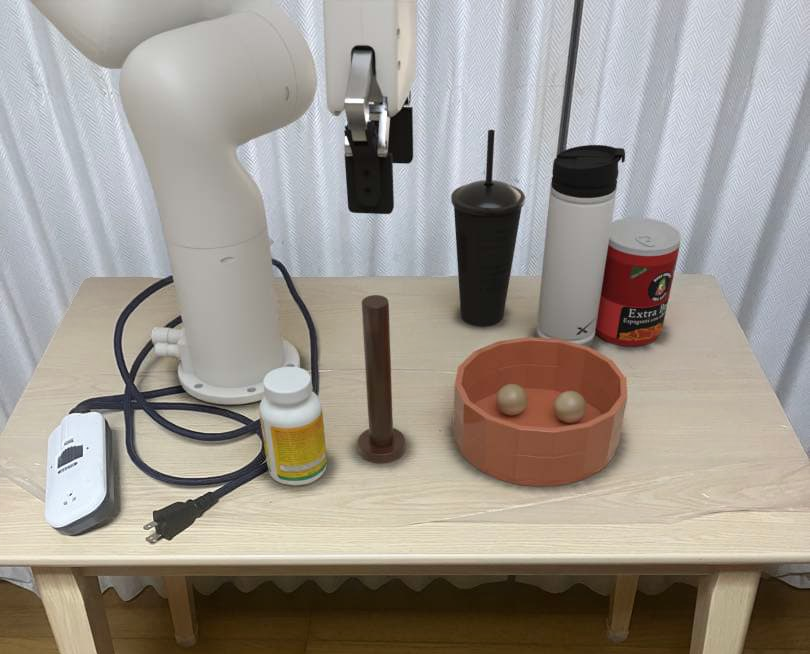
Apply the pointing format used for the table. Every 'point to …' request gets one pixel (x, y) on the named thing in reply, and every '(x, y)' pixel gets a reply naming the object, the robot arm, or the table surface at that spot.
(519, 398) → the bead
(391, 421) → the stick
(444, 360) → the table surface
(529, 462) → the bowl
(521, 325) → the table surface
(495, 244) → the drinking cup
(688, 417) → the table surface
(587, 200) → the travel mug
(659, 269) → the canned food
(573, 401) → the bead
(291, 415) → the supplement bottle
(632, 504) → the table surface
